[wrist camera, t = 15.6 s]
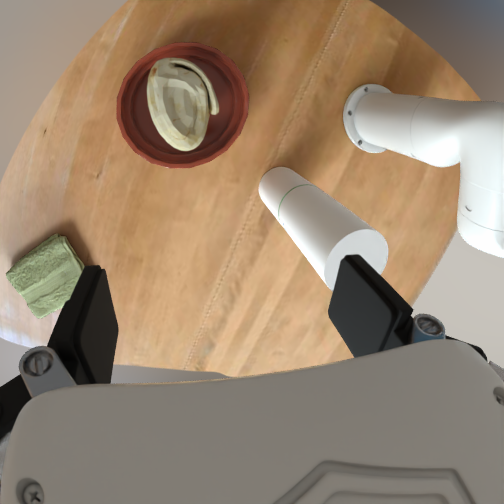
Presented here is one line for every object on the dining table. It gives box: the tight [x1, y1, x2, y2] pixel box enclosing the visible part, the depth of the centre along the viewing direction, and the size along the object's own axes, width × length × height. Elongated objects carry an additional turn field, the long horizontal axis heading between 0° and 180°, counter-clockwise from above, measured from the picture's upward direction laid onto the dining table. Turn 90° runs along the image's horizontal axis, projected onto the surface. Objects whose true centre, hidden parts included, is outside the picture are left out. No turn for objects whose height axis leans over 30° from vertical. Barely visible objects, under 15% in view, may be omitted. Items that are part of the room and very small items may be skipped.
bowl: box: [117, 42, 249, 168], centre depth 36 cm, size 17×17×6 cm
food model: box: [147, 58, 219, 151], centre depth 30 cm, size 10×7×20 cm
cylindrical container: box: [259, 167, 388, 291], centre depth 38 cm, size 7×7×25 cm
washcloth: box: [6, 233, 85, 318], centre depth 45 cm, size 13×18×3 cm
